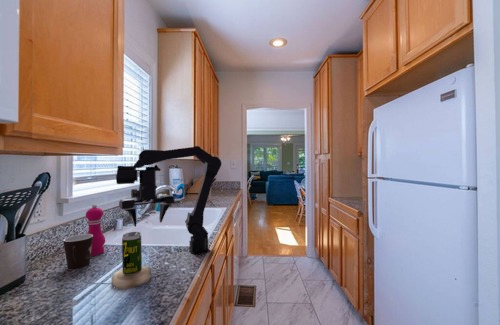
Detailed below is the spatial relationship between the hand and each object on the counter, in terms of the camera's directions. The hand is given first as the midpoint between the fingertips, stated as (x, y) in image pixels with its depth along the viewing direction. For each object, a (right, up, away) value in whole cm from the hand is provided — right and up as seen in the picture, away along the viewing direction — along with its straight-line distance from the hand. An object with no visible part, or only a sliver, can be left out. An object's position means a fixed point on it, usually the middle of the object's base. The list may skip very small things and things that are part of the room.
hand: (148, 224), depth 90 cm
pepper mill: (-25, -14, +7) cm, 29 cm away
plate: (+2, -13, -17) cm, 21 cm away
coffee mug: (-23, -14, -7) cm, 27 cm away
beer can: (+2, -11, -16) cm, 20 cm away
